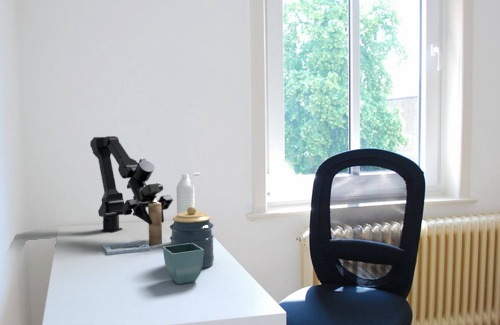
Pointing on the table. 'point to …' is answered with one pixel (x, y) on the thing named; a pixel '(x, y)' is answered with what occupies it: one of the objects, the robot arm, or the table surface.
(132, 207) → the robot arm
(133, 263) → the table surface
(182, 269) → the flower pot
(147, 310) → the table surface
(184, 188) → the water bottle
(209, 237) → the canister
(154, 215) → the tan peg
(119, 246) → the keyhole plate
